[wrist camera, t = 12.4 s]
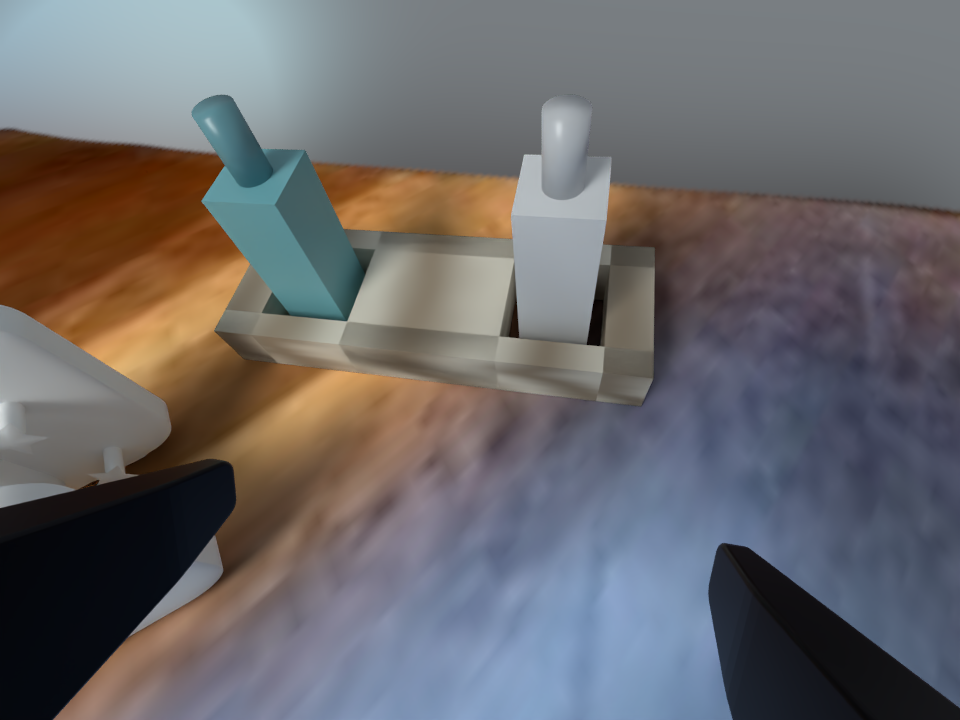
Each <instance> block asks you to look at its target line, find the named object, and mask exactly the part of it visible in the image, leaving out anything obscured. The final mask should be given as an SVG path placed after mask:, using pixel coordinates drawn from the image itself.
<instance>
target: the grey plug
mask: <svg viewBox="0 0 960 720" xmlns="http://www.w3.org/2000/svg"><path fill="white" fill-rule="evenodd" d="M591 115H592V105H591V103H590V102H589V101H588V100H587V99H586V98H584V97H581V96H578V95H573V94H566V95H560V96H556V97H553V98H551V99H549V100H548V101H547V102H546V103H545V104H544V105H543V107H542V155H524V159H523V163H522V168H521V172H520V177H519V181H518V186H517V191H516V195H515V200H514V204H513V209H512V214H511V221H512V235H513V250H514V265H515V279H516V294H517V309H518V324H519V338H520V339H530V340H540V341H550V342H561V343H571V344H581V345H587V338H588V332H589V326H590V320H591V313H592V307H593V301H594V295H595V289H596V282H597V276H598V270H599V264H600V258H601V251H602V245H603V239H604V233H605V227H606V220H607V208H608V196H609V184H610V172H611V160H612V157H592V156H591V157H590V156H589V157H588V146H589V136H590V126H591Z"/></svg>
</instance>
